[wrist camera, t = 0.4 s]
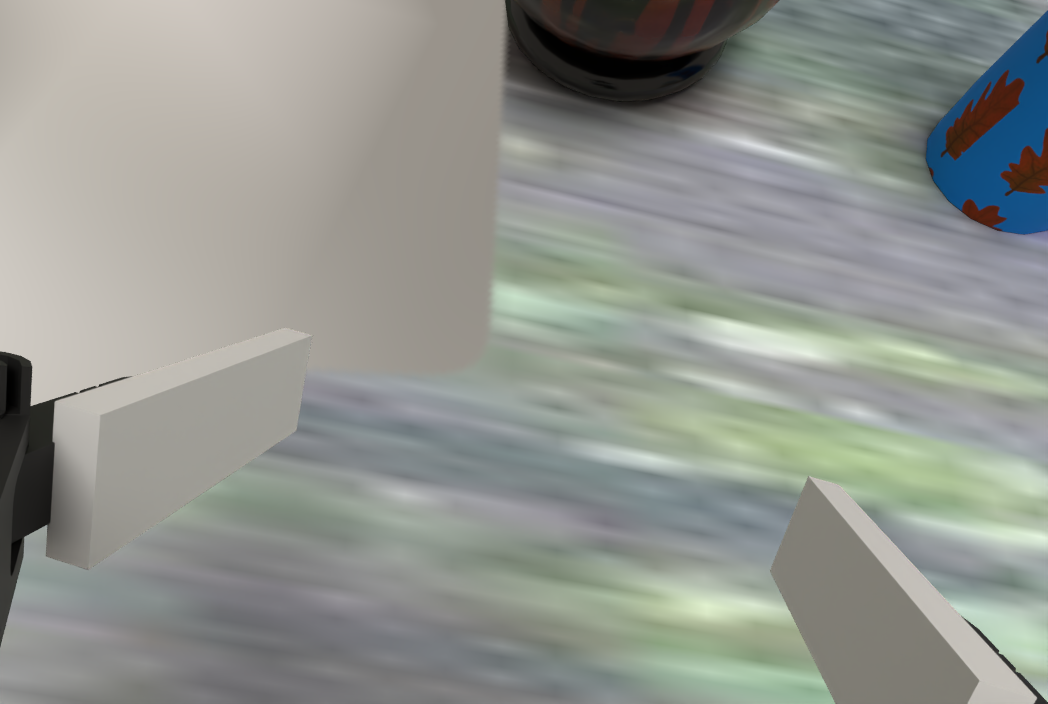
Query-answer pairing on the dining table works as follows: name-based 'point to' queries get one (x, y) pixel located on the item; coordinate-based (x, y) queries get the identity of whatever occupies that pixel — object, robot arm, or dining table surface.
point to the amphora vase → (628, 41)
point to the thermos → (1000, 141)
